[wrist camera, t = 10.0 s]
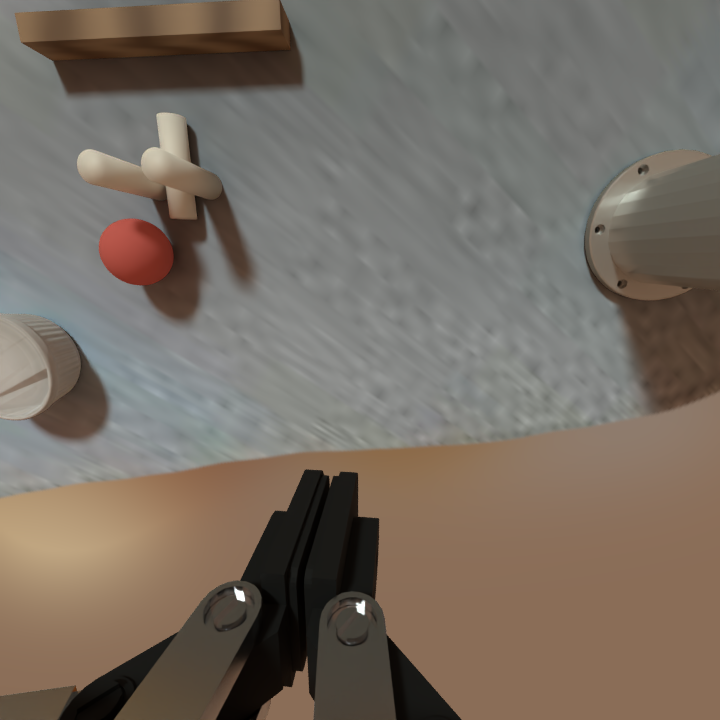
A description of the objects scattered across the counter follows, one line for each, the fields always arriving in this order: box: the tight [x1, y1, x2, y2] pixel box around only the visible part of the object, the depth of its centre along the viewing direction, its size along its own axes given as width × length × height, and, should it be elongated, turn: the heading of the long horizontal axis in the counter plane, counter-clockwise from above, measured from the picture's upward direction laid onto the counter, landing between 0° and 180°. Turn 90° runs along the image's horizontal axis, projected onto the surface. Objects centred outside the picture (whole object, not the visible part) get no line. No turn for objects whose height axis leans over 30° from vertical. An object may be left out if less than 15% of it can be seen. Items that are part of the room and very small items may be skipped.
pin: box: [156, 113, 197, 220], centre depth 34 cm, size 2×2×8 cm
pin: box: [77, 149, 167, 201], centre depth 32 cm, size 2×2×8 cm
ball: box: [99, 219, 174, 285], centre depth 35 cm, size 6×6×6 cm
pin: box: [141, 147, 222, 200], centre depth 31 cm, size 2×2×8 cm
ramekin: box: [0, 313, 81, 420], centre depth 39 cm, size 11×11×5 cm
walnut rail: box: [15, 0, 291, 61], centre depth 31 cm, size 22×2×3 cm, turn 90°
